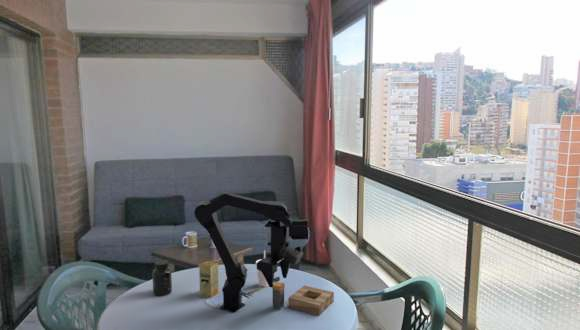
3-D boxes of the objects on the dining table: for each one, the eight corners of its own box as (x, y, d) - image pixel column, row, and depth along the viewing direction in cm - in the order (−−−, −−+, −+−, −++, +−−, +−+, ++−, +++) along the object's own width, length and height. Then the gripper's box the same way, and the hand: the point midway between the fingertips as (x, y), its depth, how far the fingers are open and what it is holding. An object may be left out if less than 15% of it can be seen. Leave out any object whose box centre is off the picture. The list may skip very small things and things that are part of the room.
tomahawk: (252, 302, 151) (252, 299, 150) (239, 296, 155) (240, 293, 154) (289, 283, 167) (289, 281, 166) (277, 278, 171) (277, 275, 170)
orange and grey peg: (279, 310, 143) (279, 286, 142) (272, 308, 144) (272, 284, 143) (284, 306, 145) (284, 283, 144) (276, 304, 147) (276, 281, 146)
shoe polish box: (207, 290, 158) (207, 260, 157) (218, 292, 156) (218, 262, 155) (199, 295, 154) (199, 264, 152) (210, 297, 152) (210, 266, 150)
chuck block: (319, 315, 139) (319, 305, 139) (288, 306, 145) (288, 297, 145) (333, 301, 149) (333, 292, 149) (304, 294, 155) (304, 285, 155)
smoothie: (275, 284, 164) (275, 250, 162) (265, 290, 159) (265, 255, 157) (262, 280, 168) (262, 247, 166) (252, 286, 162) (252, 251, 161)
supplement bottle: (149, 294, 154) (147, 263, 153) (161, 287, 160) (160, 258, 159) (164, 298, 152) (163, 266, 150) (175, 290, 158) (174, 260, 156)
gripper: (285, 250, 130) (284, 297, 132) (311, 235, 146) (310, 278, 148) (255, 244, 135) (255, 290, 137) (284, 231, 151) (283, 272, 153)
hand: (278, 282), depth 144 cm, fingers open, 9 cm apart
